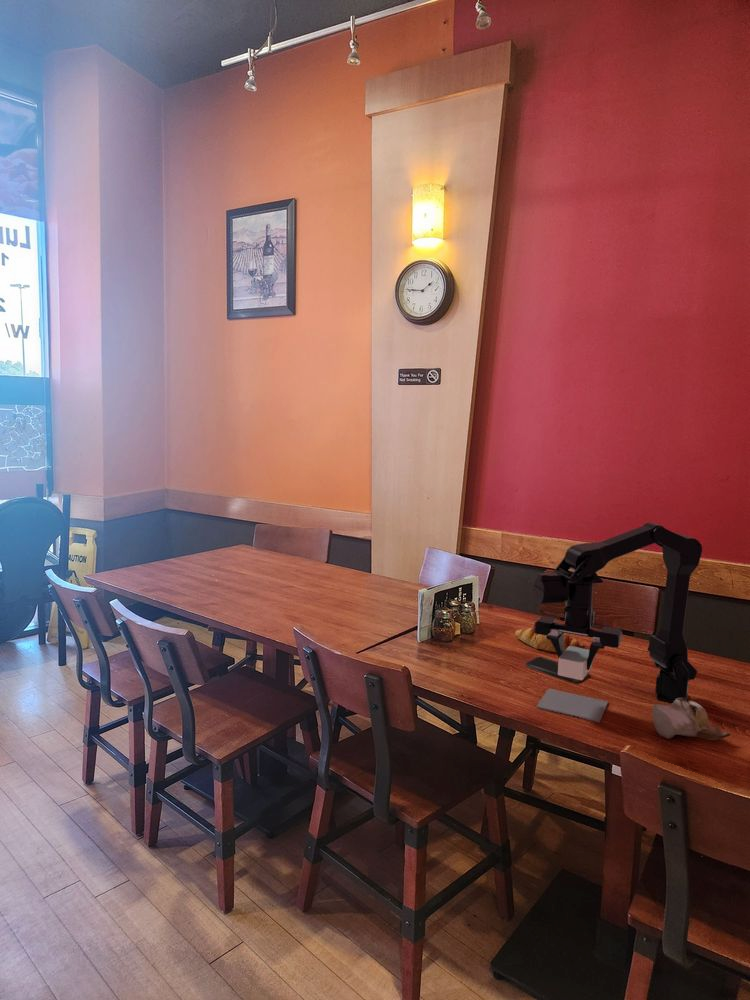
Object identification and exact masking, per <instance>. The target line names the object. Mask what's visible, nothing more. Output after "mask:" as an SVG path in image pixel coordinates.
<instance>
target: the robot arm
mask: <svg viewBox="0 0 750 1000" xmlns="http://www.w3.org/2000/svg"><path fill="white" fill-rule="evenodd" d="M653 544H655V545H657V546H658V547H660V548H662V560H663V562H664V564H665V568H666V574H667V575H666V579H665V580H666V581H665V589H664V597H663V604H662V613H661V619H660V620H661V621H660V628H659V630H658V631H657V633H656V634H655V635H654V634H650V635H649V637H648V641H649V643H648V647H647V650H646V651H648V653H649V657H650V658H651V660H652V661H653V663H654V667H656V668H657V669H659V673H658V674H656V677H655V679H656V680H655V692H654V693H655V694H656V700H659V701H660V700H661V701H666V702H669V703H673V702H674V701H675V700H676V699H677V698H682V697H687V698H688V697H689V693H688V691H689V690H688V688H689V681H693V680H695V678H696V676H697V674H698V670H697V669H696V667H694V666H693V665H692V664H691V663H690V661H688V660H689V656H688V655H689V654H688V653H689V652H688V645H687V643H686V639H685V637H684V627H685V621H686V612H687V604H688V603H687V602H688V596H689V595H688V594H689V591H690V590H689V589H690V580H691V577H692V573H693V572H694V571H695V570H696V568H697V567H698V566H699V565H700V561H701V557H702V554H703V545H702V544H701V543H700V541H699V540H698V539H696V538H694V537H690V536H688V535H684V534H680V533H677V532H673V531H671V530H669V529H667V528H666V527H664V525H661V524H658V523H655V522H646V523H644V524H643V525H642V526H639V527H636V528H634V529H631V530H628V531H626V532H623V533H619V534H618V535H615V536H612V537H610V538H607V539H605V540H601V541H599V542H584V543H578V544H574V545H571V546H570V547H568V548H567V549H566V552H565V555H564V557H563V558H562V560H561V561H560V562H559V563H558V565H557V566H556V568H555V569H554V570H553V572H554V573H545V572H539V573H538V574H537V578H536V579H535V580H534V583H533V585H532V595H533V599H534V601H535V602H536V604H538V605H548V604H550V605H551V604H563V603H564V602H565V603H564V607H563V616H564V623H559V622H558V620H557V618H556V617H553V616H552V617H551V616H544V615H541V616H540V617H539V618H538V619H537V620H536V621H535V622H534V626H533V627H534V633H535V634H541V635H546V638H547V639H549V640H551V642H552V644H553V646H554V648H555V650H556V652H555V653H556V656H557V658H558V659H559V657H560V656H561V655H562V654H563V653H564V642H563V641H564V633H567V634H568V635H569V634H570V635H573V636H581V637H586V638H591V639H592V641H591V643H590V645H589V649H588V650H589V656H588V662H587V670H589V669H590V667H591V665H592V666H593V662H594V659H595V657H596V654H597V653H598V651H599V650H600V649H601V650H604V649H605V648H606V647H609V648H614V649H619V647H620V645H621V643H622V641H623V640H622V639H623V631H622V630H621V629H620V628H617V627H611V626H603V628H602V630H600V629H594V628H593V627H594V624H595V616H596V611H595V610H593V600H594V599H593V598H594V597H593V596H594V584H603V582H604V580H603V579H602V578H601V577H600V576H599V575H598V574H597V573H598V572H599V571H600V570H603V569H604V568H605V567H606V566H607V564H608V563H609V562H611V561H613V560H615V559H618V558H620V557H622V556H625V555H628V554H631V553H633V552H636V551H637V550H640V549H644V548H646V547H648V546H650V545H653ZM570 569H571V570H573V571H571V570H570ZM591 668H592V667H591ZM590 670H591V669H590ZM590 670H589V671H590ZM688 699H689V698H688Z"/></svg>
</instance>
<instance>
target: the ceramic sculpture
mask: <svg viewBox="0 0 750 1000" xmlns="http://www.w3.org/2000/svg"><path fill="white" fill-rule="evenodd" d="M652 721H653V725H654V728H655V730H656V733H658V734H659V735H660V736H661V737H663V738H665V739H671V738H673V737H674V736H675V735H677V736H678V735H679V736H684V737H699V738H702V739H705V740H709V741H715V740H721V739H724V738H726V737H730V736H731V735H732V734H731V733H730V732H726V731H723V730H721V729H720V728H718V727H716V726H713V725H711V724H710V723H709V719H708V713H707V711H706V709H705V708H704V707H703V706H702V705H701V704H699V703H697V702H696V701H694V700H689V698H687V697H682V698H677V699H676V700H675V701H674V702H671V704H670V705H664V704H661V703H654V704H653V707H652Z"/></svg>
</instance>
